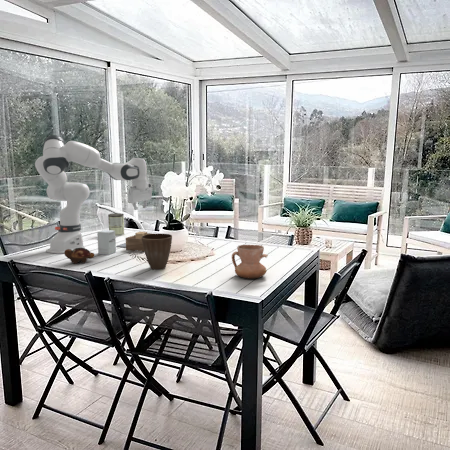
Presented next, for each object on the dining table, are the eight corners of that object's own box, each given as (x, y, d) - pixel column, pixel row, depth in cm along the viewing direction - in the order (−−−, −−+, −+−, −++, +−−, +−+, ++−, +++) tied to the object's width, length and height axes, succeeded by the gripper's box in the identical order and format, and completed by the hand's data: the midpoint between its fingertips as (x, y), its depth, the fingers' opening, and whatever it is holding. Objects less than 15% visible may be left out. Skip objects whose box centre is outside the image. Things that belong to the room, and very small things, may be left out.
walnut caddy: (146, 251, 259) (146, 239, 257) (125, 249, 264) (125, 237, 263) (162, 245, 275) (162, 234, 274) (142, 243, 280) (142, 232, 279)
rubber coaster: (128, 248, 268) (128, 247, 268) (116, 246, 272) (116, 245, 272) (137, 245, 277) (137, 244, 276) (125, 243, 280) (125, 242, 280)
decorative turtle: (61, 263, 233) (61, 247, 233) (89, 260, 243) (89, 245, 242) (68, 265, 226) (68, 250, 225) (97, 263, 236) (97, 247, 235)
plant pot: (144, 272, 215) (143, 240, 212) (140, 265, 229) (139, 234, 226) (175, 270, 219) (174, 238, 216) (170, 263, 233) (169, 232, 231)
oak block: (142, 243, 267) (142, 233, 266) (135, 242, 268) (135, 233, 267) (147, 241, 271) (147, 232, 270) (140, 241, 273) (140, 231, 272)
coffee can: (106, 234, 311) (105, 214, 308) (120, 232, 317) (119, 212, 315) (113, 236, 303) (112, 215, 301) (127, 234, 309) (126, 214, 307)
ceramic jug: (273, 275, 211) (273, 245, 209) (260, 282, 198) (260, 251, 196) (239, 270, 220) (239, 242, 218) (224, 277, 207) (224, 247, 205)
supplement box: (109, 255, 251) (108, 232, 249) (97, 254, 254) (96, 231, 251) (116, 252, 258) (115, 230, 256) (105, 251, 260) (104, 229, 258)
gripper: (134, 187, 253) (134, 211, 256) (153, 184, 272) (153, 207, 274) (124, 186, 256) (125, 210, 258) (144, 184, 274) (145, 206, 277)
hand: (140, 208), depth 266 cm, fingers open, 8 cm apart
